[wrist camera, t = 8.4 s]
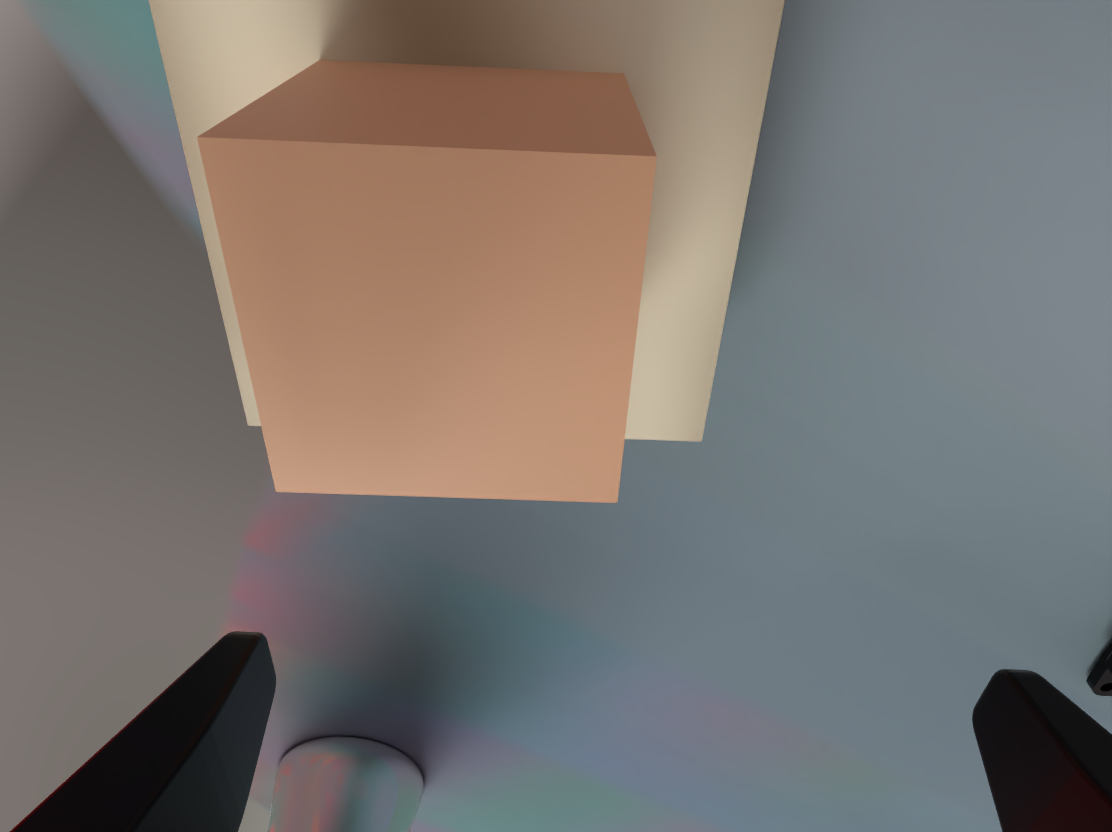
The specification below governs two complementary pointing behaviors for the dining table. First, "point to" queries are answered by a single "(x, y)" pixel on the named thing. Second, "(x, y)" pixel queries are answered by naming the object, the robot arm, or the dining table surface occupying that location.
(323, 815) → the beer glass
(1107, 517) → the dining table surface
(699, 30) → the birch block
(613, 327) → the terracotta cube
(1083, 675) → the dining table surface
